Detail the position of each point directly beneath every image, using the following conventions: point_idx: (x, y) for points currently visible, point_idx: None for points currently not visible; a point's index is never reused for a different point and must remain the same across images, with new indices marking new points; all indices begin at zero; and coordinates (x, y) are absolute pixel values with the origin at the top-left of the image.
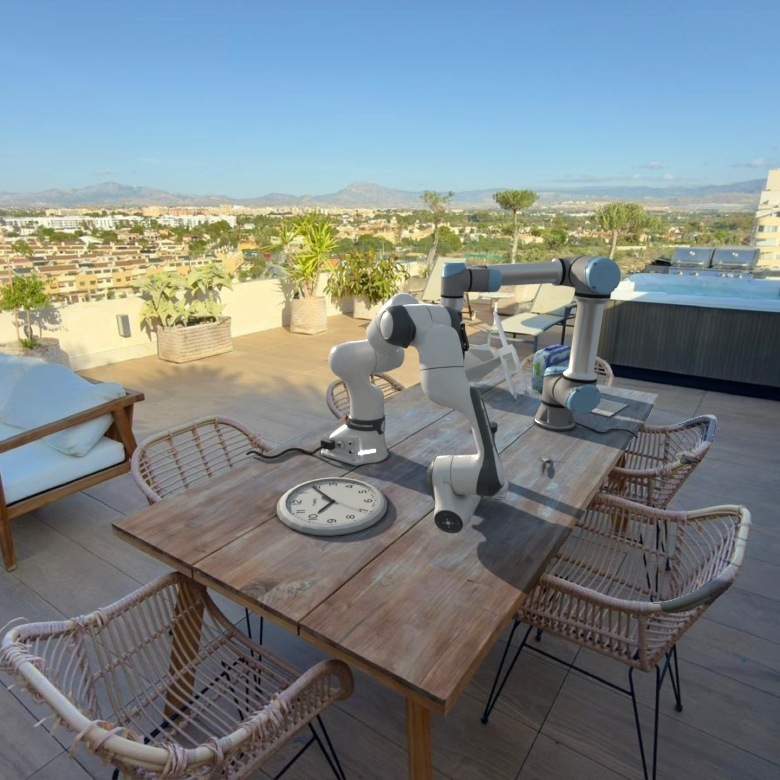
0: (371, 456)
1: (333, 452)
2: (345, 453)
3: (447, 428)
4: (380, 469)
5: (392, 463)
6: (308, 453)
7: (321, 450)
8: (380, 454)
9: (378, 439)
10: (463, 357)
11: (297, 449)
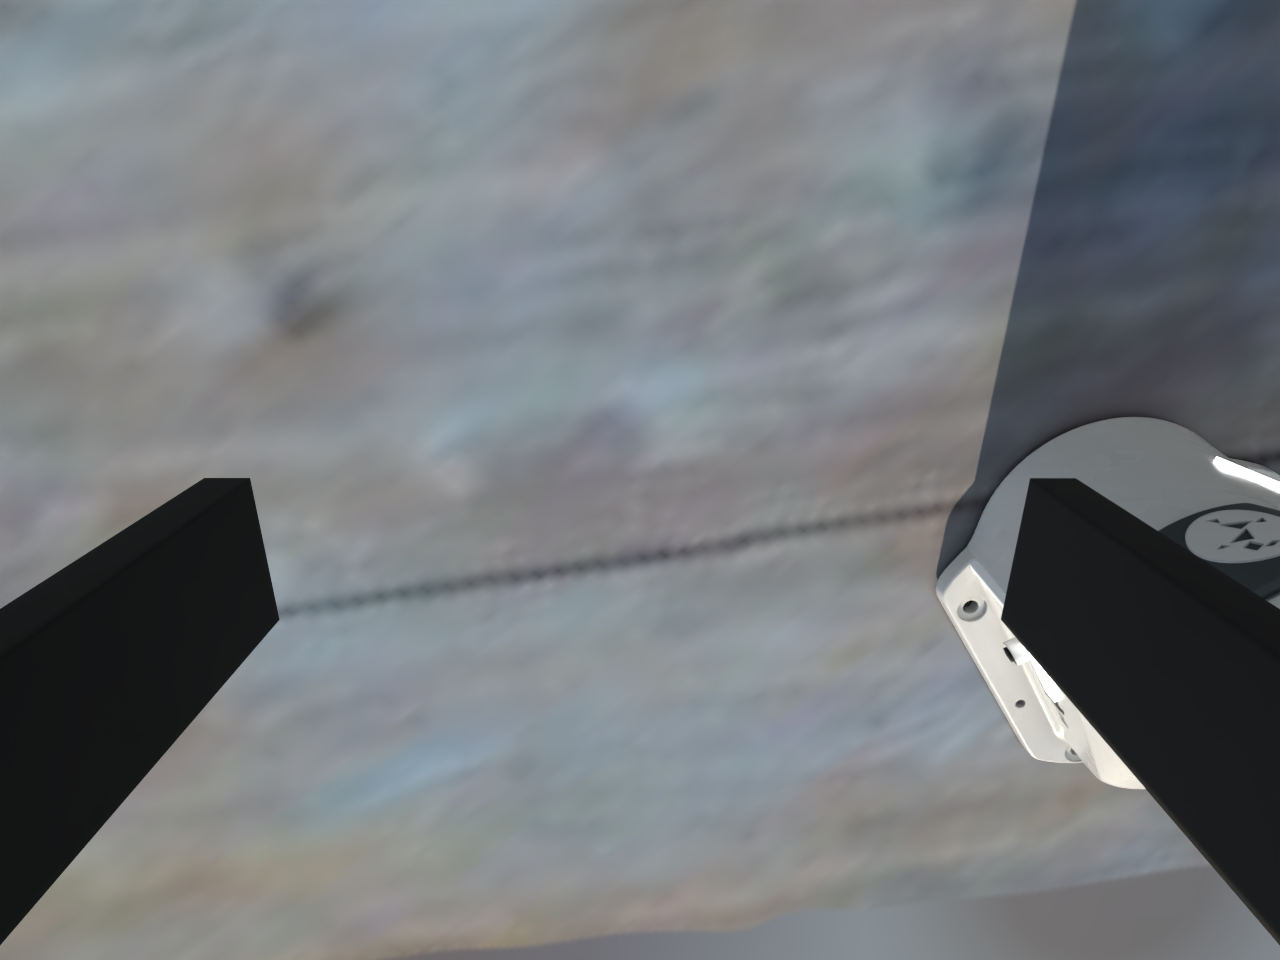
0: (1219, 455)
1: None
2: None
3: (408, 468)
4: (1238, 343)
5: (1121, 349)
6: None
7: None
8: (1159, 439)
9: (1235, 491)
10: (7, 630)
11: None
